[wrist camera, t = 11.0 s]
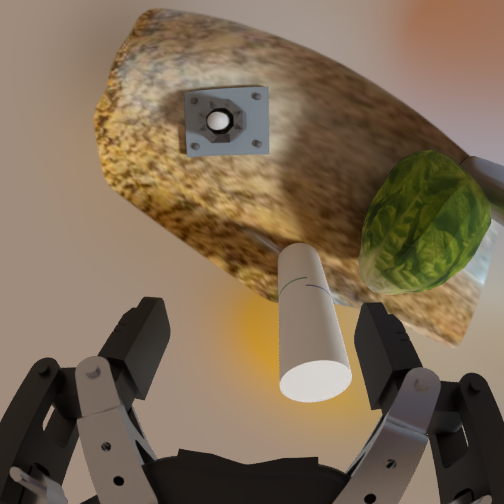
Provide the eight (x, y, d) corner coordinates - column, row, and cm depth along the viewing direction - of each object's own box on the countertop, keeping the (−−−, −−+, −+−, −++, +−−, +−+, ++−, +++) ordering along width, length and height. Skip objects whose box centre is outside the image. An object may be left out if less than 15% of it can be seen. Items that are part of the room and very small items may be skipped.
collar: (246, 101, 34) (242, 98, 29) (246, 140, 36) (243, 142, 32) (206, 103, 34) (197, 101, 30) (207, 141, 37) (198, 144, 32)
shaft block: (268, 88, 34) (267, 78, 27) (269, 153, 39) (268, 160, 31) (187, 93, 35) (167, 87, 28) (190, 156, 40) (171, 164, 32)
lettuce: (316, 234, 44) (345, 319, 31) (398, 115, 31) (477, 162, 18) (385, 265, 50) (419, 336, 37) (458, 173, 37) (519, 230, 23)
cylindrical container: (313, 282, 48) (337, 403, 26) (274, 276, 48) (273, 399, 26) (323, 246, 45) (362, 361, 22) (281, 239, 45) (288, 357, 22)
